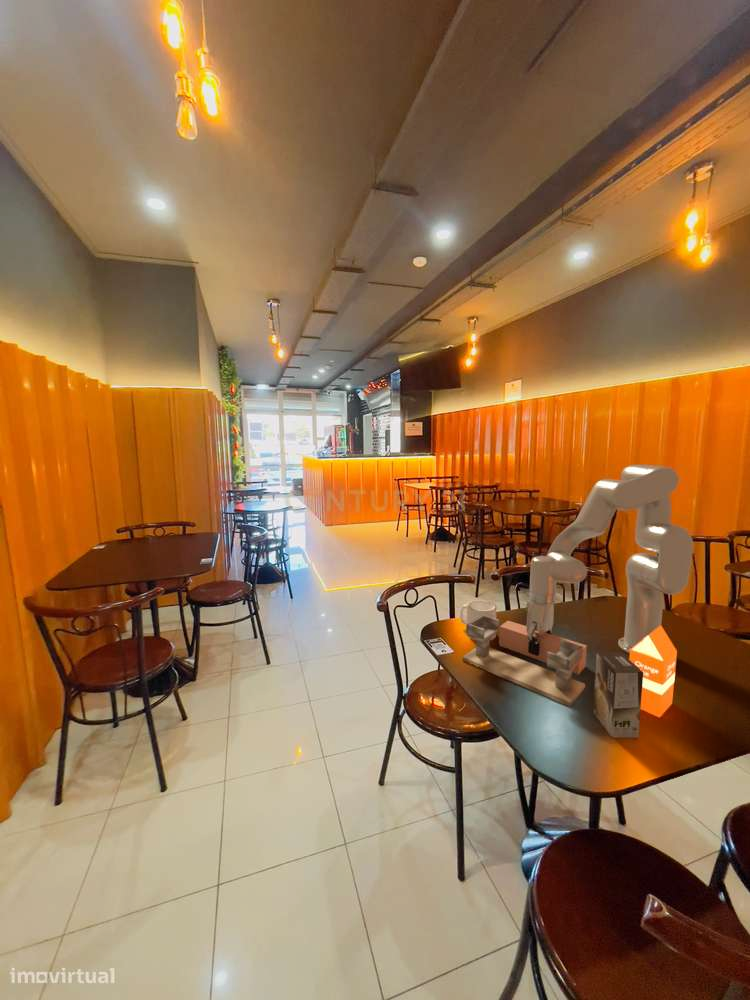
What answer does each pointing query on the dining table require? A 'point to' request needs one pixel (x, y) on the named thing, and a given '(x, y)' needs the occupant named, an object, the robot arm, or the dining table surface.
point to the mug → (477, 611)
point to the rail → (517, 641)
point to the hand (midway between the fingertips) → (539, 648)
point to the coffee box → (618, 694)
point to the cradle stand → (526, 664)
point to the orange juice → (656, 670)
